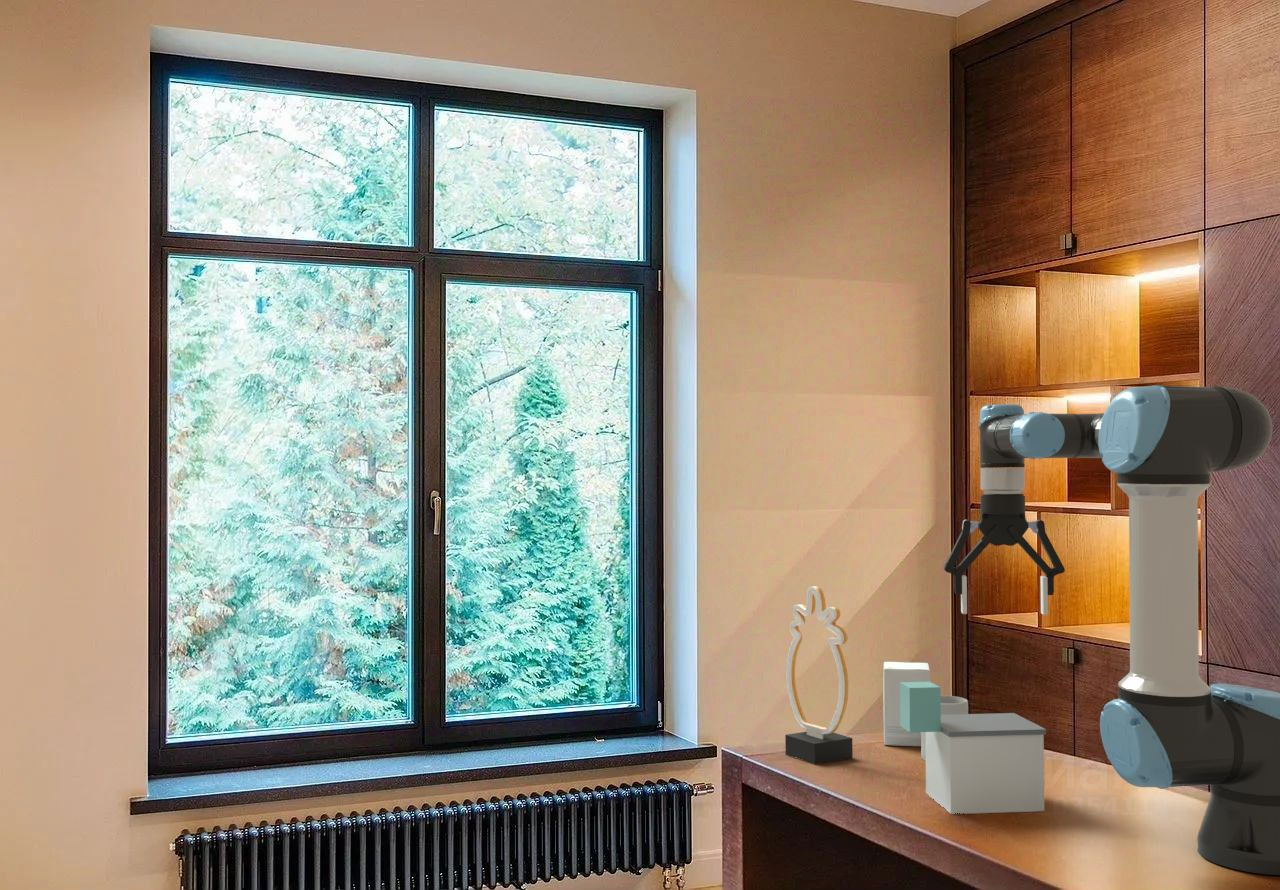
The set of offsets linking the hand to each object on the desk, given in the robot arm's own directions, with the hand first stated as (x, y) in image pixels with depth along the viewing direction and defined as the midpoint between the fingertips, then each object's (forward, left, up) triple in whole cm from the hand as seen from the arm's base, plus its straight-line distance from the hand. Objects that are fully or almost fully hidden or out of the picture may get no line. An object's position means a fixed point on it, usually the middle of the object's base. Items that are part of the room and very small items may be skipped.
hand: (1004, 613), depth 213 cm
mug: (+13, +7, -28) cm, 32 cm away
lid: (-17, +13, -17) cm, 27 cm away
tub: (-17, +10, -28) cm, 34 cm away
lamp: (+16, +29, -28) cm, 44 cm away
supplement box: (+26, +9, -28) cm, 40 cm away
